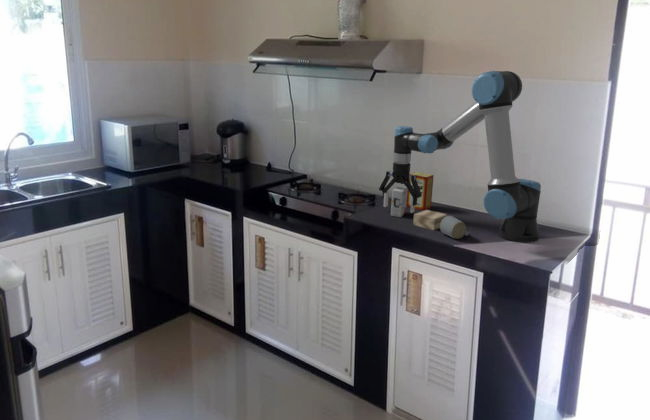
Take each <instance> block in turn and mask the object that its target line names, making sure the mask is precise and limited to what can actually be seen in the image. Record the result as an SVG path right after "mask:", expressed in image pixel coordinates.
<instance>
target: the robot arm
mask: <svg viewBox="0 0 650 420" xmlns="http://www.w3.org/2000/svg"><path fill="white" fill-rule="evenodd" d="M522 90H523V82H522V79H521V78H520V76H519V75H518V74H517V73H515V72H513V71H508V70H502V71H499V70H498V71H497V70H490V71H485V72H483V73H480V74H479V75H478V76H477V77H476V78H475V79H474V81H473V83H472V86H471V95H472V98H473V100H474V101H475V102H474V103H473V104H471V105H470V106H468V107H467V108H466V109H465V110H464V111H462V112H461V113H460V114H458V115H456V116H455V118H453V119H452V120H451V121H449V122H447V123H446V124H445V125H444V126H443V127H442V128H439V130H437V131H435V132H427V133H417V132H414V128H413V127H412V126H409V125H408V126H406V125H403V126H402V125H400V126H399V125H398V126H397V127H396V128H395V130H394V131H395V132H394V137H393V138H394V144H393V146H394V148H393V159H392V161H393V162H392V171H391V170H387V171H386V172H385V176H384V179H383V181H382V182H381V184H380V186H379V187H378V190H379V191H381V192H382V197H381V198H382V200H383V207H384V208H386V207H389V197H390V196H389V195H390V194H389V192H390V191H389V190H390V189H391V188H392V187H393V186H394V184H395V183H396V184H401V185H403V184H404V187H407V189H408V190H409V192H410V194H411V195H412V197H413V198H411V207H409V209H410V210H409V213H411V214H413V213H415V205H417V198H419V197H421V196H422V194H421V192H420V189H419V186H418V183H417V180H416V175H410V174H411V173H410V172H411V159H412V151H413V152H417V153H421V154H422V153H423V154H433V153H434V152H435V151H437V150H447V149H448V148H450V147H452V146H453V144H454V142H456V140H458V138H461V137H462V136H463V135H464V134H467V132H469V131H470V130H471V129H472V128H474V127H476V126H477V125H478V124H480V123H481V122H483V120H484V123H485V133H486V143H487V151H488V152H487V153H488V161H489V170H490V171H489V173H490V180H489V181H488V182H487V192H486V194H485V195H484V197H483V206H484V210H485V211H486V212H487V214H489V215H490V217H491V218H494V219H496V220H502V223H501V225H500V227H499V229H498V235H499V237H501V238H503V239H506V240H508V241H512V242H519V243H532V242H533V243H535V242H537V241H539V238H540V230H539V226H538V220H537V217H538V212H539V211H538V210H539V205H540V204H539V203H540V198H541V197H540V196H541V193H542V190H541V188H542V187H541V184H540V182H539V181H535V180H531V179H525V178H518V177H516V172H515V161H514V152H513V151H514V149H513V141H512V132H511V123H510V122H511V121H510V110H511V109H512V107H513V102H515V101H516V100H517V99H518V98H519V97H520V96H521V94H522ZM391 177H392V179H391V180H390V178H391ZM409 178H410V180H411V182H412V185H413V187H412V185H411V184H410V181H409ZM389 181H390V182H389ZM388 182H389V183H388ZM413 188H414V189H413Z"/></svg>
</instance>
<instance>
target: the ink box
mask: <svg viewBox="0 0 650 420" xmlns="http://www.w3.org/2000/svg"><path fill="white" fill-rule="evenodd" d="M407 193H408V189H407V187H406V186H396V187H395V188H394V189H392V193H391V194H392V195H391V208H390V216H391V217H396V218H397V217H398V218H402V217H403V216H404V215H405V214H406V212H407V207H406V204H407Z"/></svg>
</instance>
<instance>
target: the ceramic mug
mask: <svg viewBox="0 0 650 420" xmlns="http://www.w3.org/2000/svg"><path fill="white" fill-rule="evenodd" d="M439 230H440V231H441V233H442V234H444V235H446V236H449V237H451V238H452V239H455V240H460V239H462V238H463V237H464V236H466V237H468V235H469V234H470V233H469V231H467V225H466V224H465V222H463V221H462V220H460V219H458V218H456V217H454V216H453V215H447V216H446V217H445V218H443V220H442V221H441V224H440V228H439Z"/></svg>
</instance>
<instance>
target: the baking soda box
mask: <svg viewBox="0 0 650 420" xmlns="http://www.w3.org/2000/svg"><path fill="white" fill-rule="evenodd" d="M410 175H416V180H417V183H418V186H419V189H420V192H421V194H422V196H421V197H419V198H417V205H415V209H416V210H420V211H424V210H430V209H431V208H432V200H433V187H434V176H435V175H434V174H430V173H425V172H419V171H415V172H411V173H410ZM409 181H410V184H411V185H412V182H411V180H410V178H409ZM412 187H413V185H412ZM413 189H414V188H413ZM411 198H413V197H412V195H411V194H410V192H409V190H408V193H407V204H406V208H410V207H411Z"/></svg>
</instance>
